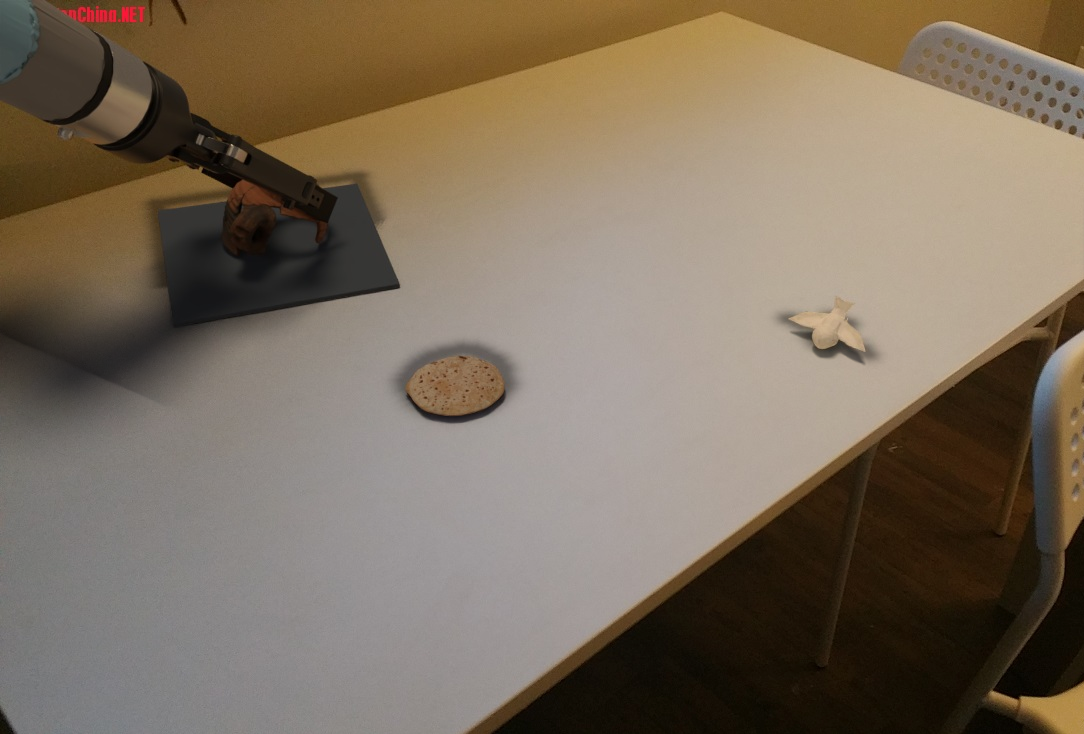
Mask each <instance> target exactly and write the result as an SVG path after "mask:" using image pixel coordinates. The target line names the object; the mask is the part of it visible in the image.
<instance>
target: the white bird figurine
mask: <svg viewBox="0 0 1084 734" xmlns="http://www.w3.org/2000/svg"><path fill="white" fill-rule="evenodd" d="M854 305H855V303H854V302H851V301H848V300H844V299H843V298H841V297H839V296H837V295H835V296H834V307H833V309H832V310H831V312H830V313H829V312H828V313H827V312H816V311H804V312H801V313H799V314H796V315H794V316H792V317H789V318H788V320H790V321H792V322H794V323H796V324H798V325H800V326H802V327H804V328H810V329H813V331H812V335H811V338H812V342H813V344H814V346H815V347H816V348H817V349H820V350H826V349H829V348H831V347H833V346H834V347H835V346H836V345H838V342H839V341H841V342H843V343H844V344H845V345H847V346H849V347H850V348H854V349H856V350H859V351H862V352H864V353H866V348H865V345H864V341H863V336H862V333H860V332H859V331H857V329H855V327H853V326H852V325H851V324H850V323H849V322H848V321H849V318H848V317H847V316H846V315H847V313H848V312H849V310H850V309H851V308H852V307H853V306H854ZM846 317H847V318H846Z"/></svg>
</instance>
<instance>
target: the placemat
mask: <svg viewBox="0 0 1084 734" xmlns="http://www.w3.org/2000/svg"><path fill="white" fill-rule="evenodd" d="M321 188H322V189H324V190H326V191H328V192H329V193H331V194H333V195H334V196H336V197H338V199H337V201H336V204H335V206H334V209H333V211H332V214H331V216H330V219H329V221H328V227H327V229H326V234H325V236H324V239H323V241H322V242H321V243H316V241H315V237H316V233H317V222H311V221H307V220H305V219H296V218H293V217H290V216H284V215H281V214H280V209H279V208H271V209H273V210H274V211H275V213H276V225H275V227H274V229H273V230H272V233H271V235H270V237H269V238H268V241H267V246H266V249H265V253H264V254H261V255H251V254H248V253H246V252H245V251H244V250H242V249H240V254H239V255H235V254H233V253H232V252H231V251H230V250H229V249H228V248H226V246H225V245H224V243H223V241H222V236H221V235H222V231H223V216H224V211H225V205H226V202H227V200H226V201H225V200H224V201H218V202H217V201H216V202H211V203H210V202H209V203H204V204H203V203H202V204H195V205H188V206H181V207H175V208H174V207H173V208H167V209H159V210H157V216H158V224H159V231H160V239H161V247H162V253H163V262H164V269H165V276H166V277H165V278H166V284H167V292H168V293H167V294H168V298H169V300H168V301H169V307H170V315H171V322H172V326H173V328H178V327H183V326H190V325H195V324H200V323H207V322H212V321H218V320H224V319H230V318H234V317H240V316H247V315H251V314H257V313H258V314H259V313H262V312H270V311H274V310H279V309H280V310H281V309H285V308H292V307H297V306H302V305H308V304H314V303H319V302H320V303H321V302H325V301H326V302H327V301H332V300H338V299H343V298H348V297H353V296H354V297H355V296H360V295H365V294H371V293H378V292H383V291H388V290H395V289H399V288H401V285H400V281H399V279H398V277H397V274H396V272H395V269H394V267H393V265H392V262H391V260H390V258H389V256H388V253H387V251H386V248H385V246H384V243H383V240H382V239H381V237H380V234H379V232H378V229H377V227H376V225H375V222H374V220H373V217H372V216H371V213H370V210H369V208H368V206H367V204H366V201H365V199H364V196H363V194H362V191H361V190H360V187H359V185H358V183H350V184H344V185H343V184H342V185H336V186H329V187H328V186H327V187H321ZM242 208H244V206H243V205H242ZM241 210H242V209H241Z"/></svg>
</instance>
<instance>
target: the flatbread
mask: <svg viewBox="0 0 1084 734" xmlns="http://www.w3.org/2000/svg"><path fill="white" fill-rule="evenodd" d="M405 392H406V393H407V394H408V395H409V396H410V398H411V400H412V401H413V402H414V403H415V404H416V405H417V407H418V408H419V409H421V410H422V411H425V412H426V413H429V414H434V415H439V416H445V417H461V416H465V415H470V414H474V413H477V412H480V411H483V410H485V409H487V408H489V407H490V406H492V405H493V404H495V403H496V402H497V401H498V400H499V399H500V398H501V397H502V396H503V394H504V392H505V381H504V377H503V375H502V373H501V372H500V370H499V369H498V367H497V366H495V365H494V364H492V363H490V362H487V361H486V360H482V359H480V358H479V357H475V356H467V355H459V354H458V355H453V356H448V357H445V358H442V359H441V358H440V359H439V360H435V361H433V362H429V363H427V364H425V365H424V366H422V367H420V368H418V369H417V370H415V372H414V373H413V375H412V376H411V378H410V379H409V380H408V382H407V383H406V384H405Z"/></svg>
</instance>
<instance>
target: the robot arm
mask: <svg viewBox="0 0 1084 734" xmlns="http://www.w3.org/2000/svg"><path fill="white" fill-rule="evenodd" d="M0 101H1V102H3V103H5V104H7V105H9V106H11V107H13V108H15V109H18V110H20V111H23V112H25V113H26V114H29V115H31V116H33V117H35V118H37V119H39V120H41V121H42V122H44V123H48V124H50V125H52V126H54V127H58V129H57V134H56V135H57V136H58V138H59V139H62V140H63V141H65V142H70V141H71V140H72V139H73V138H74V136H75V137H76V138H79V139H81V140H84V141H86V142H88V143H91V144H93V146H96V147H97V148H99V149H101V150H103V151H105V152H107V153H109V154H111V155H114V156H116V157H118V158H120V159H122V160H124V161H126V162H128V163H132V164H137V165H138V164H139V165H146V164H147V165H148V164H152V163H155V162H158V161H160V160H162V159H163V158H164V159H165V158H166V159H168V161H169V162H172V163H180V162H181V163H182V164H183V165H186V167H188V168H189V169H190V170H193V171H194V170H198V171H199V170H200V168H202V170H201V174H203V175H205V176H207V177H209V178H210V179H213V180H215V181H216V182H219V183H221V184H223V185H225V186H226V187H229V188H230V189H231V190H232V189H233V188H234V187H235V185H236V184H237V183H238V182H240V181H241V180H242V179H243V180H245V181H247V182H249V183H251V184H254V185H256V186H258V187H260V188H262V189H265V190H267V191H269V192H271V193H273V194H275V195H278V196H280V197H282V199H281V200H282V201H284V204H283V207H284V208H287V209H289V210H293V207H295V208H297V209H299V210H301V211H303V212H305V213H307V214H309V215H311V216H313V217H314V218H316V219H318V220H320V221H322V222H325V223H328V221H329V219H330V216H331V214H332V211H333V209H334V206H335V204H336V201H337V199H338V197H336V196H334V195H333V194H331V193H329V192H328V191H326V190H324V189H322V188H323V187H322V186H320V185H319V186H320V187H319V186H317V185H316V183H317V182H318V180H317V178H315V177H314V176H313V175H310V174H306V173H304V172H303V171H301V170H299V169H297V168H295V167H294V166H291V165H289V164H288V163H285V162H284V161H282V160H280V159H278V158H276V157H274V156H273V155H271V154H269V153H267V152H265V151H263V150H261V149H260V148H258V147H256V146H254V145H253V144H251V143H250V142H248V141H246V140H244V139H243V138H242V136H240V135H238V134H230V133H228V132H226V131H224V130H222V129H220V128H217V127H216V126H214V125H212V124H211V122H210V121H209V120H207V118H205V117H202V116H200V115H198V114H196V113H193V112H191V110H190V104H189V99H188V96H187V94H186V91H185V90H184V89H183V87H182V86H181V84H179V83H178V82H177V80H175V79H174V78H172V77H170V76H169V75H167V74H166V73H164V72H162V71H161V70H159V69H158V68H156V67H154V66H152V65H151V64H149V63H148V62H146V61H144V60H142V59H141V58H140V57H139V56H137V55H136V54H134V53H133V52H131V51H130V50H128V49H126V48H125V47H123V46H122V45H120V44H118V43H116V42H115V41H113V40H111V39H109V37H107V36H105V35H103V33H101V32H99V31H97V30H95V29H92V28H90V27H88V26H86V25H84V24H83V23H81V22H79V21H77V20H76V18H73V17H71V16H70V15H68V14H67V13H65V12H64V11H62V10H61V9H59V8H58V7H56V6H55V5H53V4H52V3H51V2H49V1H47V0H0ZM218 138H219V139H220V140H219V139H218ZM317 184H318V183H317Z"/></svg>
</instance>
